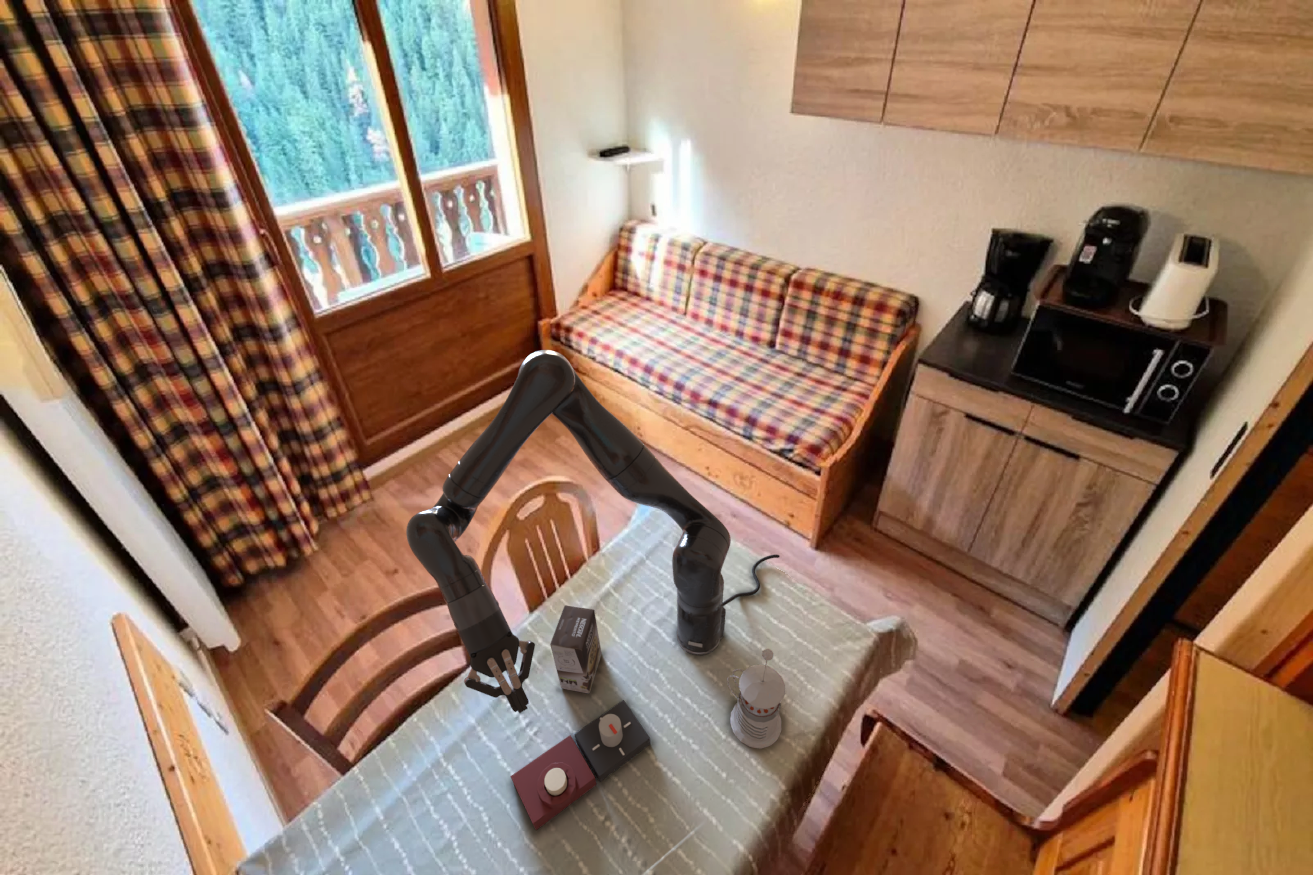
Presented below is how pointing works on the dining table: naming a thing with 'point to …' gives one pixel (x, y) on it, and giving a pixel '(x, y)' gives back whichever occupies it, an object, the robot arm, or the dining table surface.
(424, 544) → the robot arm
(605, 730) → the timer knob
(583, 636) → the coffee box
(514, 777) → the red button box
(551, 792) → the button
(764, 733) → the french press
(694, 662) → the dining table surface
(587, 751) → the panel
